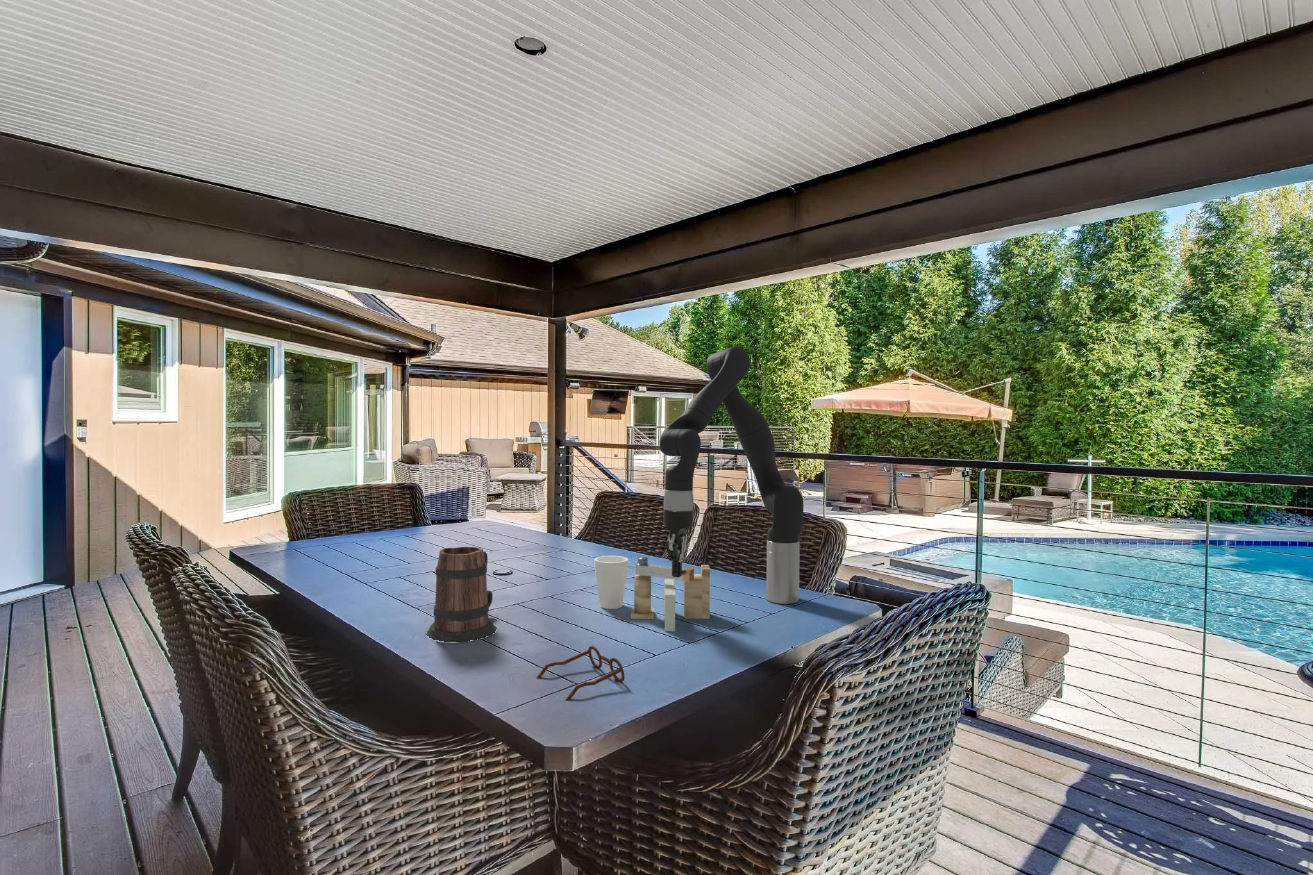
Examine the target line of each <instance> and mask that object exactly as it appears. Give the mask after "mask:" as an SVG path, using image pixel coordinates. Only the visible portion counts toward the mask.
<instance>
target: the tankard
mask: <svg viewBox="0 0 1313 875" xmlns="http://www.w3.org/2000/svg"><path fill="white" fill-rule="evenodd" d="M438 554H439V555H438V559H437V566H435V576H436V580H435V581H436V582H435V598H434V599H435V604H434V606H433V616H434V621H433V623H431V625H430V626H429V628H428V630H427V631H426V632H427V634H426V635H427V636H429V638H432V639H433V640H439V641H444V642H466V643H469V642H468V641H470V640H477V639H478V641H480V640H479V639H480V638H485V637H486V636H490V635H492V634H493V633H495V631H496V629H497V630H498V628H497V626H496V625H495V624H494V622H493V621H492V620H491V618H489V612H490V607H491V605H492V603H493V592H492V591H491V590H488V582H487V572H488V553H487V552H486V551H484V549H483V548H480V547H477V546H460V547H459V546H458V547H446V548H441V549H440V550H439V553H438ZM495 634H496V633H495ZM493 635H494V634H493ZM493 635H492V636H493ZM490 637H491V636H490ZM485 639H486V638H485Z"/></svg>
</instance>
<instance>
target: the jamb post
mask: <svg viewBox="0 0 1313 875" xmlns="http://www.w3.org/2000/svg"><path fill="white" fill-rule="evenodd" d="M633 587H634V593H633V594H634V597H633V598H634V602H633V604H634V607H632V608H631V611H630V619H633V620H654V619H655V608H652V576H644V575H636V574H634V586H633Z"/></svg>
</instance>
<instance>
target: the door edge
mask: <svg viewBox="0 0 1313 875" xmlns="http://www.w3.org/2000/svg"><path fill="white" fill-rule="evenodd" d="M663 579H664V580H663V581H664V591H663V592H664V593H663V594H664V597H663V598H664V601H663V603H664V606H663V613H664V614H663V615H664V616H663V617H664V619H663V620H664V632H676V590H675V589H676V588H675V579H669V578H663Z"/></svg>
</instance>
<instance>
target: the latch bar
mask: <svg viewBox="0 0 1313 875" xmlns="http://www.w3.org/2000/svg"><path fill="white" fill-rule="evenodd" d="M694 574H695V568H694V567H686V568H685V567H682V576H680V577H673V576H672V566H667V565H659V564H650V563H649V557H647V556H639V557H637V564H635V575H644V576H651V578H652V577H654V578H663V579H674V580H679V581H683V583H684V582H691V581H693V580H694Z"/></svg>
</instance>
